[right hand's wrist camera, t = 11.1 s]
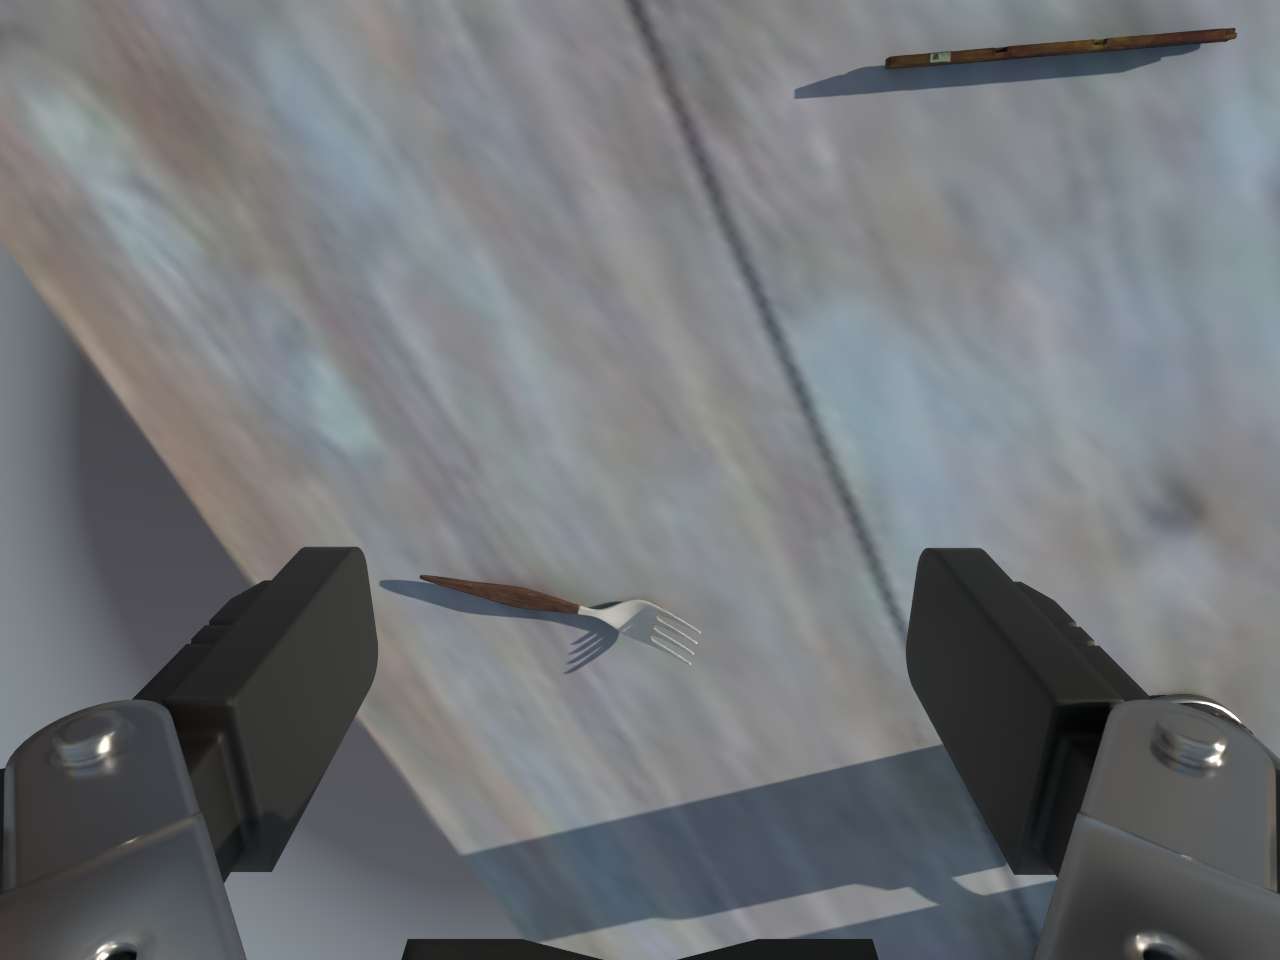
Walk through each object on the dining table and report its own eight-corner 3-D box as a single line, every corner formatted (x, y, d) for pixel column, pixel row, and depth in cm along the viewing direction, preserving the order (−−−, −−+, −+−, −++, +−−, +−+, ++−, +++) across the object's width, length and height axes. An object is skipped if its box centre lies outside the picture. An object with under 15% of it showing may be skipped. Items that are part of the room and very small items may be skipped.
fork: (425, 551, 43) (416, 568, 41) (699, 611, 45) (702, 629, 43) (419, 591, 44) (409, 609, 42) (687, 648, 46) (689, 668, 44)
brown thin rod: (1226, 30, 34) (1243, 26, 33) (1224, 42, 34) (1240, 38, 33) (884, 59, 34) (890, 55, 34) (883, 70, 35) (890, 67, 34)
